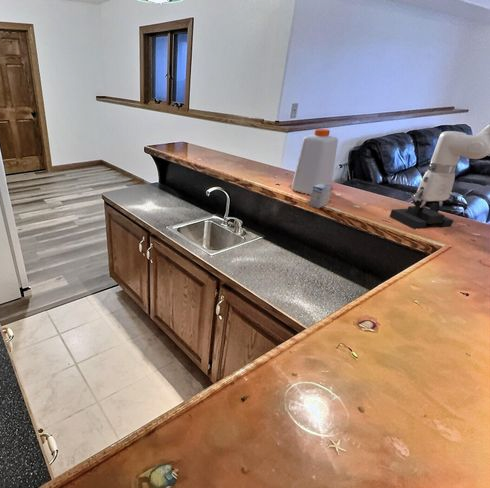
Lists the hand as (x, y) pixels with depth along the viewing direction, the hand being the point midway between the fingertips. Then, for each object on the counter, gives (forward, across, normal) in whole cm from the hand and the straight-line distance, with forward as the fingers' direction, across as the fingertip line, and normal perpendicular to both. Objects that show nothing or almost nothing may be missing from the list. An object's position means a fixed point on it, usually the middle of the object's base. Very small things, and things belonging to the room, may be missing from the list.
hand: (424, 215), depth 130 cm
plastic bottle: (+3, -21, +43) cm, 48 cm away
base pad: (+3, 0, +1) cm, 3 cm away
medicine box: (+3, -28, +24) cm, 37 cm away
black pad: (+1, 0, 0) cm, 1 cm away
